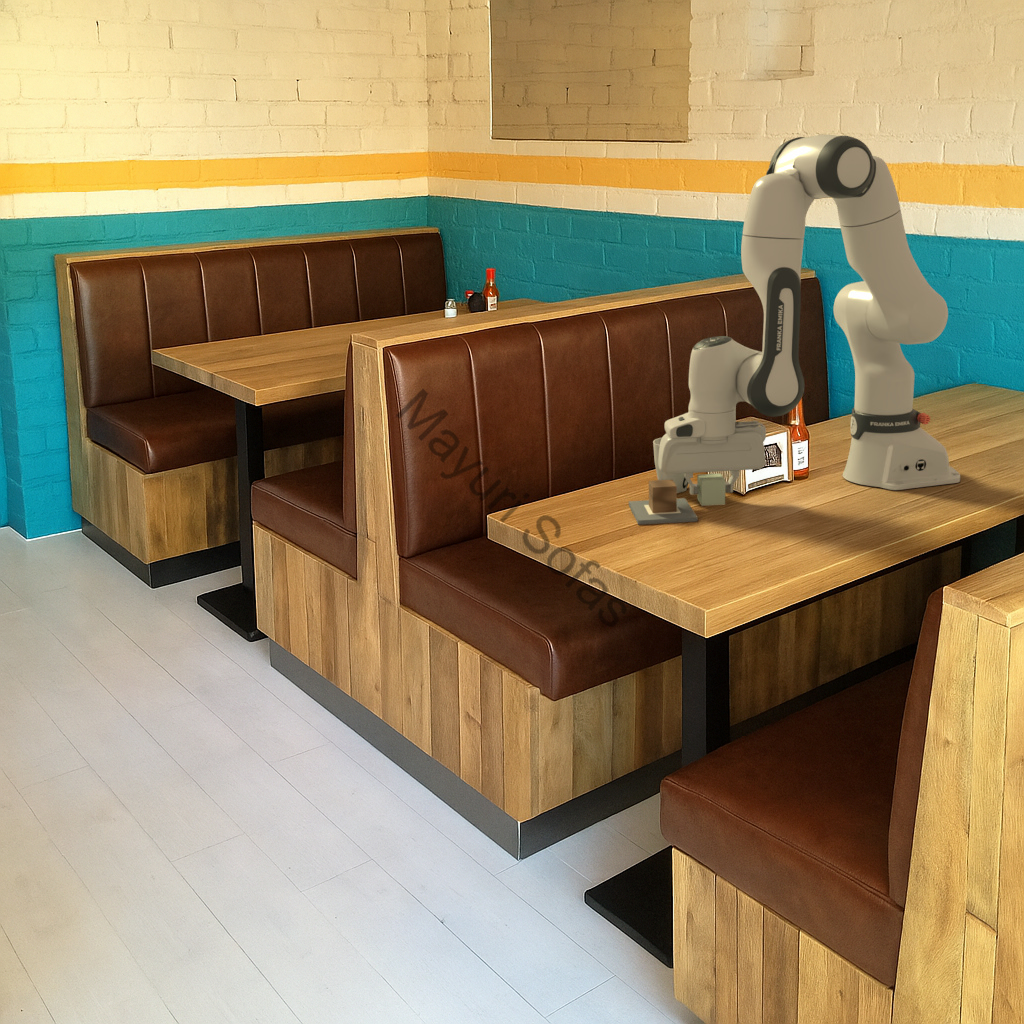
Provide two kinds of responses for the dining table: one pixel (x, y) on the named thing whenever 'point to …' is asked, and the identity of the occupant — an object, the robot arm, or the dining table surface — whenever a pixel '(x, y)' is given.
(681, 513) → the grey flat square plate
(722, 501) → the sage block
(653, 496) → the walnut block
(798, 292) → the robot arm
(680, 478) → the cup
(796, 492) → the dining table surface
